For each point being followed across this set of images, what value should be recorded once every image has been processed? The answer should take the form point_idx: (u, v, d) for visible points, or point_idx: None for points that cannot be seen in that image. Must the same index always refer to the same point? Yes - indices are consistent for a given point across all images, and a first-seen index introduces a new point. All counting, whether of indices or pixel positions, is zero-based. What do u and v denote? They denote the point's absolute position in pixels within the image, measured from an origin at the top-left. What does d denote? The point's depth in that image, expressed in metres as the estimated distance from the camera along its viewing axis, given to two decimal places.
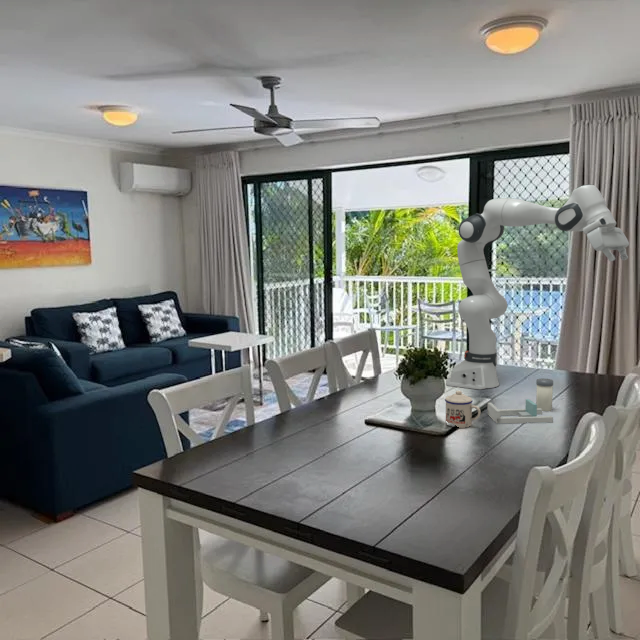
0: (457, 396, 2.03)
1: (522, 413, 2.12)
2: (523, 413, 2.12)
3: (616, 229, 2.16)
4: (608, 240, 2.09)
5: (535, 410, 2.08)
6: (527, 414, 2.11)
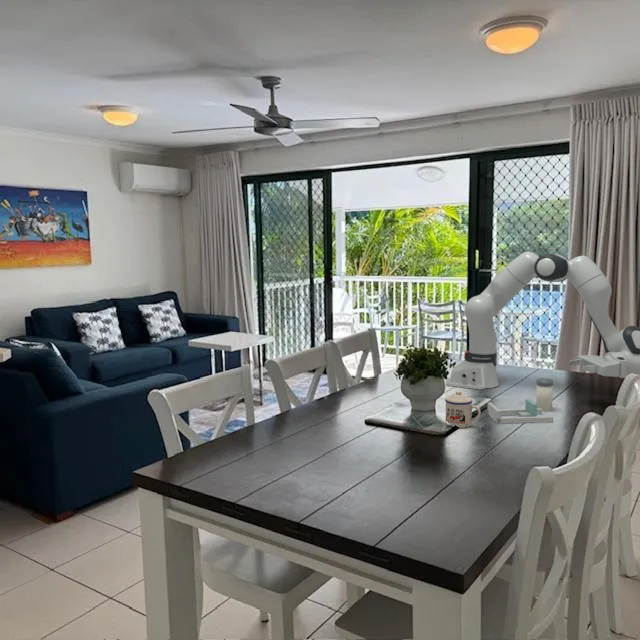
0: (457, 396, 2.03)
1: (522, 413, 2.12)
2: (523, 413, 2.12)
3: None
4: None
5: (535, 410, 2.08)
6: (527, 414, 2.11)
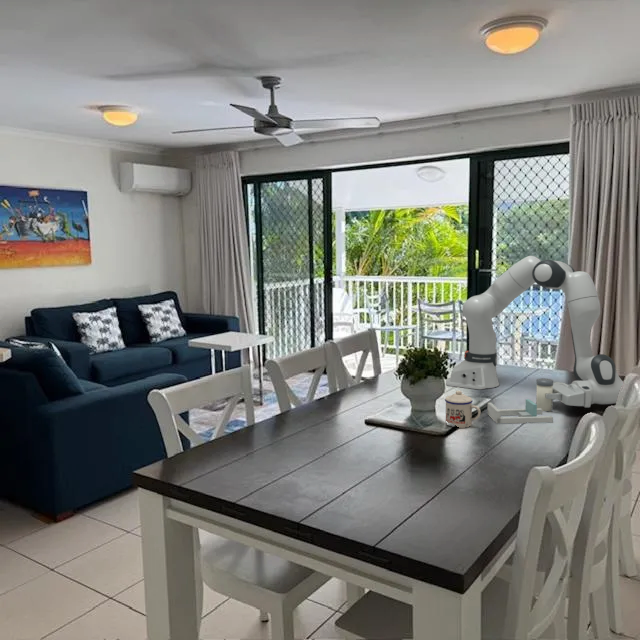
0: (457, 396, 2.03)
1: (522, 413, 2.12)
2: (523, 413, 2.12)
3: None
4: None
5: (535, 410, 2.08)
6: (527, 414, 2.11)
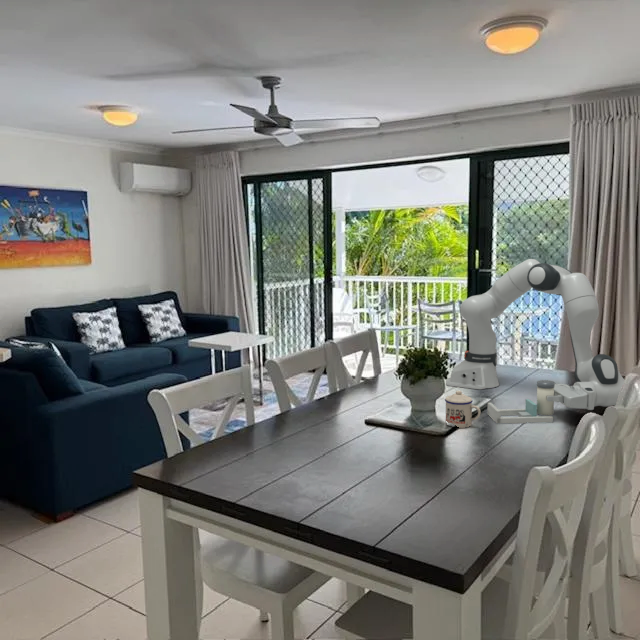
0: (457, 396, 2.03)
1: (522, 413, 2.12)
2: (523, 413, 2.12)
3: None
4: None
5: (535, 410, 2.08)
6: (527, 414, 2.11)
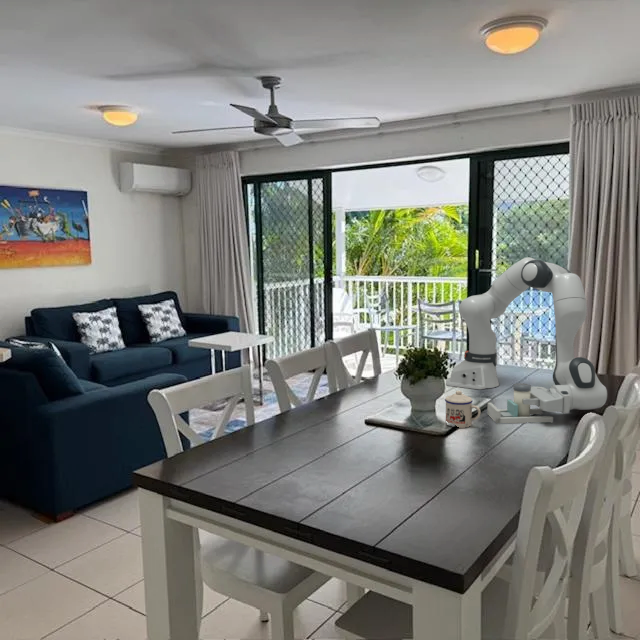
0: (457, 396, 2.03)
1: (503, 413, 2.12)
2: (504, 414, 2.11)
3: None
4: None
5: (516, 410, 2.08)
6: (508, 414, 2.10)
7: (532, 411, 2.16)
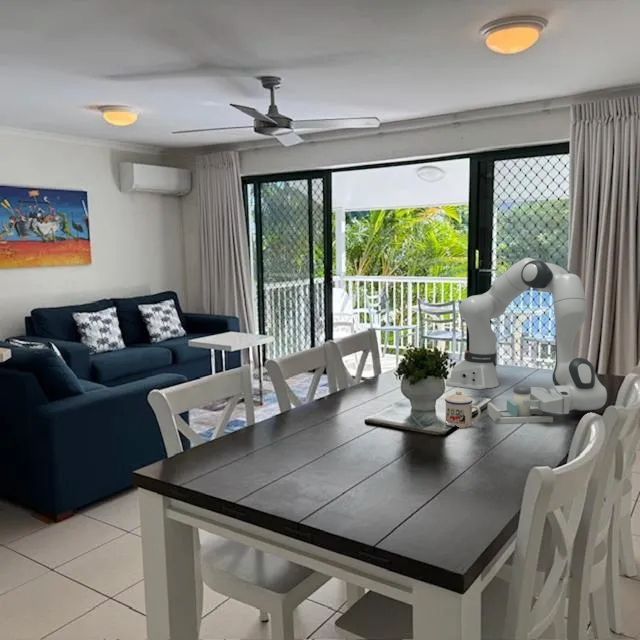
0: (457, 396, 2.03)
1: (503, 413, 2.12)
2: (504, 414, 2.11)
3: None
4: None
5: (516, 410, 2.08)
6: (508, 414, 2.10)
7: (532, 411, 2.16)
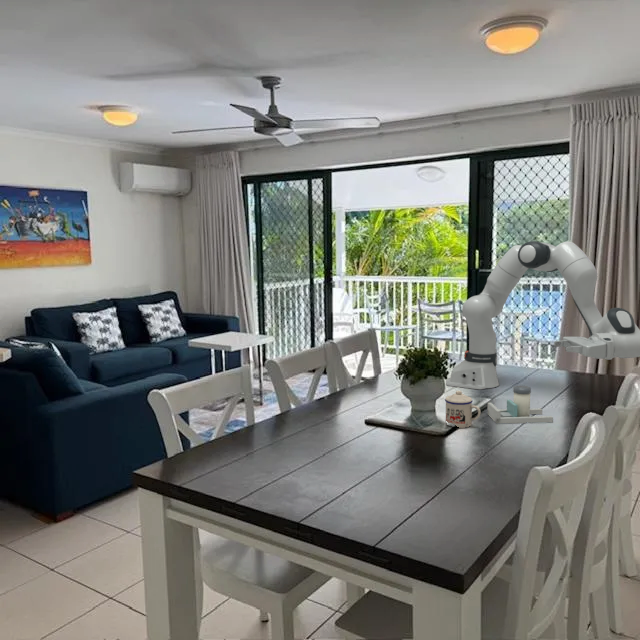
0: (457, 396, 2.03)
1: (503, 413, 2.12)
2: (504, 414, 2.11)
3: None
4: None
5: (516, 410, 2.08)
6: (508, 414, 2.10)
7: (532, 411, 2.16)
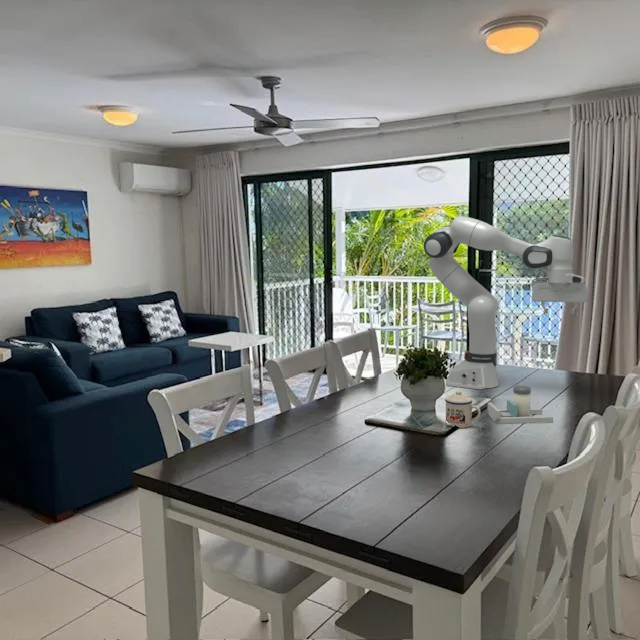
0: (457, 396, 2.03)
1: (503, 413, 2.12)
2: (504, 414, 2.11)
3: None
4: None
5: (516, 410, 2.08)
6: (508, 414, 2.10)
7: (532, 411, 2.16)
